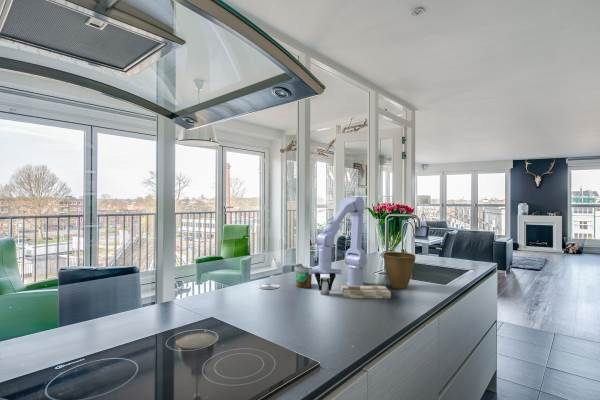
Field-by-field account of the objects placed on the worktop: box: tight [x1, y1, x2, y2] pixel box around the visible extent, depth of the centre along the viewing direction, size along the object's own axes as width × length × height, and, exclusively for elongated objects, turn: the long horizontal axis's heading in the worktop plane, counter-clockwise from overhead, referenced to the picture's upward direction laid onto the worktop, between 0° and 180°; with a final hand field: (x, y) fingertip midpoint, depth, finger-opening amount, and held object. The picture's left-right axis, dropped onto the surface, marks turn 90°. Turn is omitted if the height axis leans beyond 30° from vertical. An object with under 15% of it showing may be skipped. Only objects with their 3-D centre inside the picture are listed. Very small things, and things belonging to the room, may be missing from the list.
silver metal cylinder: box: [319, 276, 330, 296], centre depth 142 cm, size 4×4×7 cm
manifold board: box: [341, 284, 392, 299], centre depth 142 cm, size 11×20×2 cm, turn 89°
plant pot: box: [383, 251, 416, 290], centre depth 154 cm, size 15×15×16 cm
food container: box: [293, 263, 313, 290], centre depth 154 cm, size 12×6×10 cm, turn 25°
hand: (324, 290), depth 142 cm, fingers closed on silver metal cylinder, 4 cm apart
